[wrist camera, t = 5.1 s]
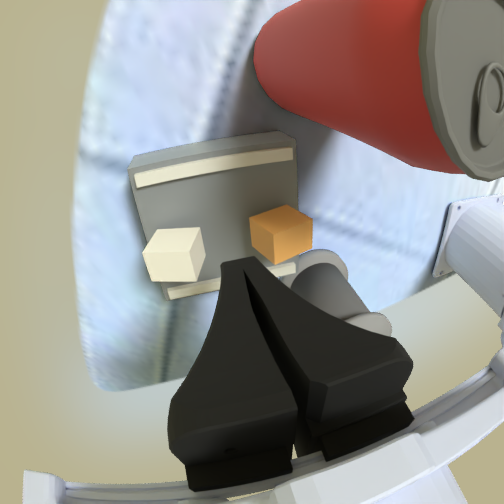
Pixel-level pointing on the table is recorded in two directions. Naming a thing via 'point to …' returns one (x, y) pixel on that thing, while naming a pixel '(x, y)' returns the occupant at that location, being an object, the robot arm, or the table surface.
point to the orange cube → (281, 233)
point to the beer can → (395, 76)
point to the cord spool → (333, 290)
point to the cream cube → (175, 255)
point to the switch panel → (216, 198)
